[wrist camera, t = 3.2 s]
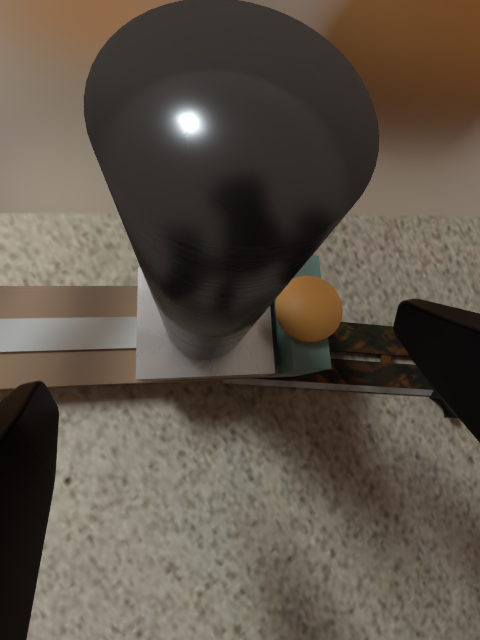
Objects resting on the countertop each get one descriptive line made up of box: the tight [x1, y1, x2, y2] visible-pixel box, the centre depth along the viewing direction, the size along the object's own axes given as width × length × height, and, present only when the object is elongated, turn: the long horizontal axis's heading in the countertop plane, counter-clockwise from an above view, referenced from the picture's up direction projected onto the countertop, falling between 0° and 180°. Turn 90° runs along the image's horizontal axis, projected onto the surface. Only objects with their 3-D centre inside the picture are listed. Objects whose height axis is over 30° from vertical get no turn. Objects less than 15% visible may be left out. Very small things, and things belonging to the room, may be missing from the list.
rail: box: [0, 256, 342, 390], centre depth 15 cm, size 21×5×6 cm, turn 93°
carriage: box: [84, 0, 379, 382], centre depth 10 cm, size 6×5×13 cm
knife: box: [221, 322, 458, 418], centre depth 20 cm, size 25×6×1 cm, turn 82°
